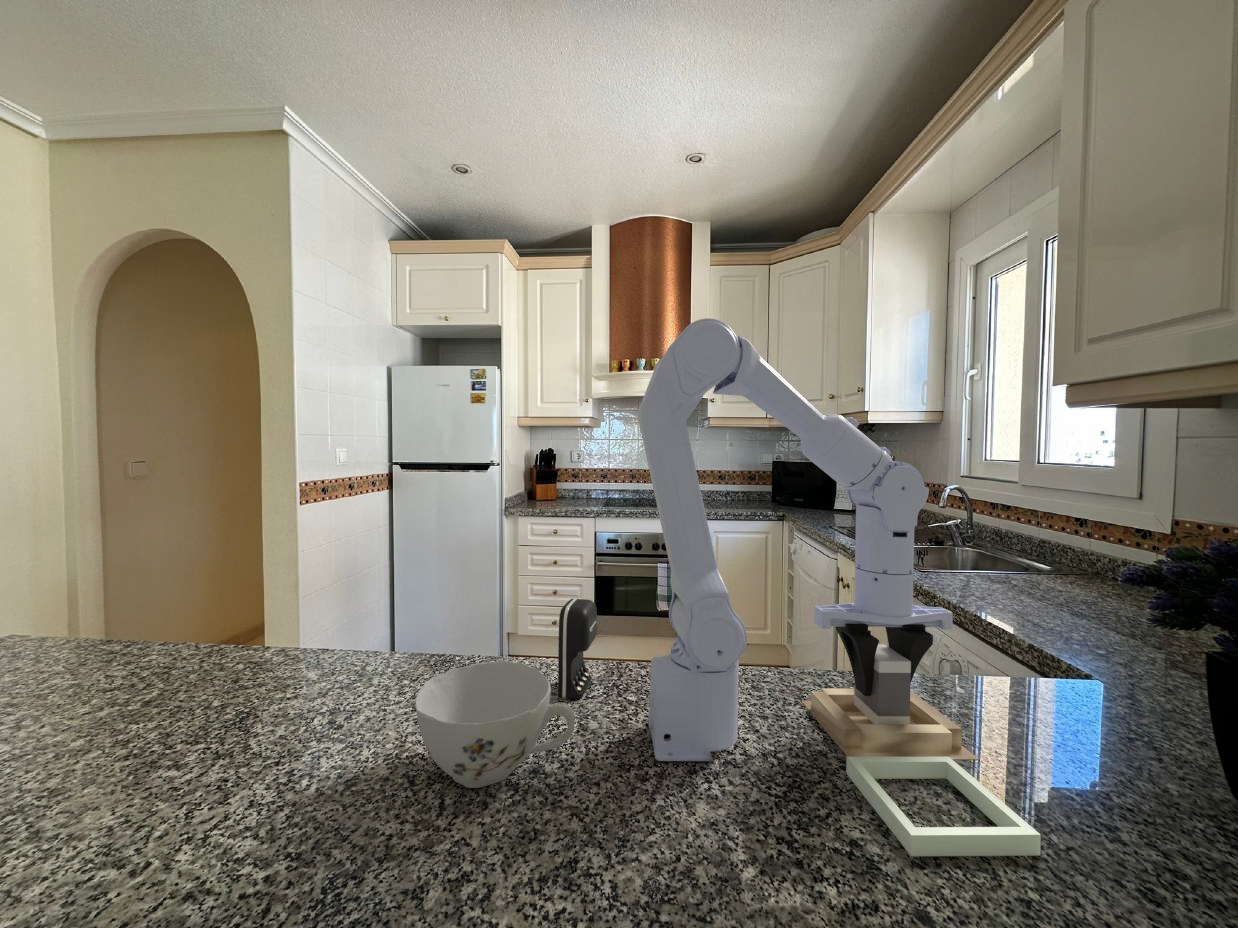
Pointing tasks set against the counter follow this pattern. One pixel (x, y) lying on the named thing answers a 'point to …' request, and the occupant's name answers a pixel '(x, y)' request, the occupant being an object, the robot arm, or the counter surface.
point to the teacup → (487, 719)
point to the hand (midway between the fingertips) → (881, 691)
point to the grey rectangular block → (887, 689)
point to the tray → (943, 841)
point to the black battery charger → (575, 646)
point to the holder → (886, 729)
